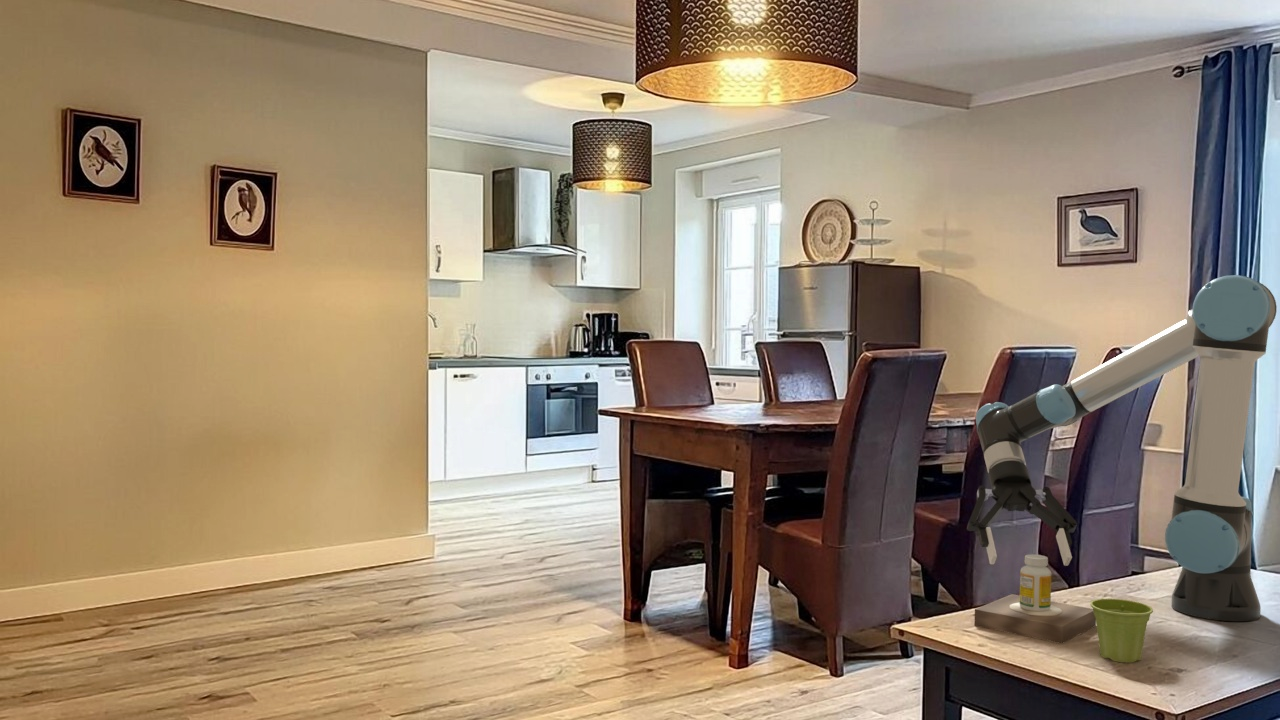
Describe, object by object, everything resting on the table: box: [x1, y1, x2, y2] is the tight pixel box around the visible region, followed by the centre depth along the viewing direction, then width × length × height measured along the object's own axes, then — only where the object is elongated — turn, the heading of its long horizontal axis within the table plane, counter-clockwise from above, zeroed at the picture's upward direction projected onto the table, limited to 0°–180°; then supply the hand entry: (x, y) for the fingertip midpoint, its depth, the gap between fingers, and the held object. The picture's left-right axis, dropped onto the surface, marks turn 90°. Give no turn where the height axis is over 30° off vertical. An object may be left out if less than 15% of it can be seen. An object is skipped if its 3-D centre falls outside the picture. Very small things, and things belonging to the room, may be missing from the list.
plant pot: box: [1089, 598, 1154, 664], centre depth 170 cm, size 9×9×9 cm
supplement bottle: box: [1019, 553, 1052, 612], centre depth 189 cm, size 5×5×10 cm
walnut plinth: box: [974, 593, 1097, 645], centre depth 189 cm, size 16×16×3 cm
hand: (1030, 561), depth 190 cm, fingers open, 13 cm apart
